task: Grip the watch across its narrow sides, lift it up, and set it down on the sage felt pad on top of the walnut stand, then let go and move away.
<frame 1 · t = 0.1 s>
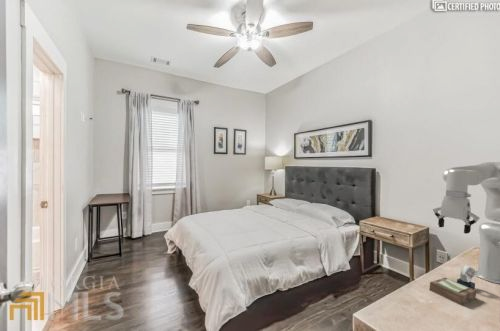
hand: (453, 230, 106), 31 cm above the table, tool pointing down, fingers open, 9 cm apart
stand: (451, 294, 106), on the table
watch: (465, 287, 114), on the table
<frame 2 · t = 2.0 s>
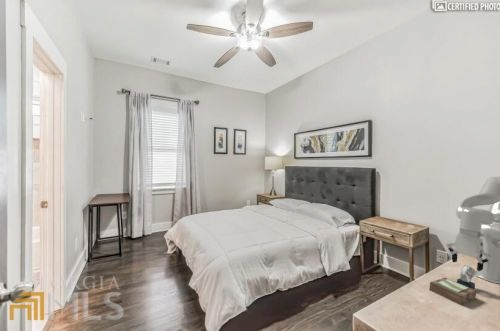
hand: (466, 266, 113), 11 cm above the table, tool pointing down, fingers open, 9 cm apart
nothing on the table moved.
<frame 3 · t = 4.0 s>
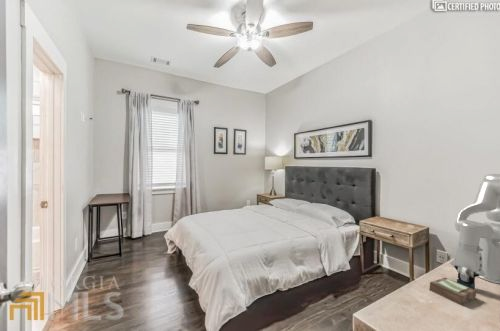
hand: (465, 281, 114), 3 cm above the table, tool pointing down, fingers closed on watch, 3 cm apart
watch: (465, 287, 114), on the table, touching gripper
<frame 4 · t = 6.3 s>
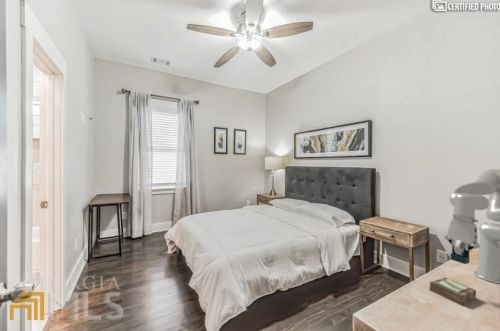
hand: (460, 255, 109), 18 cm above the table, tool pointing down, fingers closed on watch, 3 cm apart
watch: (459, 261, 109), point 15 cm above the table, touching gripper
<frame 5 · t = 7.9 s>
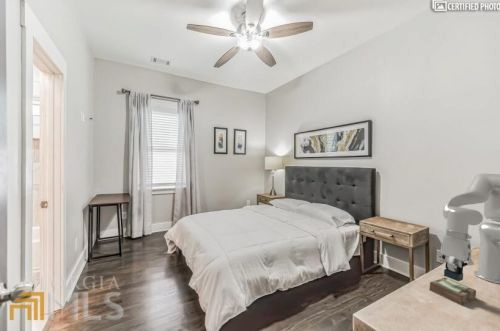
hand: (453, 272, 106), 11 cm above the table, tool pointing down, fingers closed on watch, 3 cm apart
watch: (453, 278, 106), point 8 cm above the table, touching gripper
when the fingers open (9 cm above the table, at t = 9.0 s): watch drops 1 cm, resting on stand.
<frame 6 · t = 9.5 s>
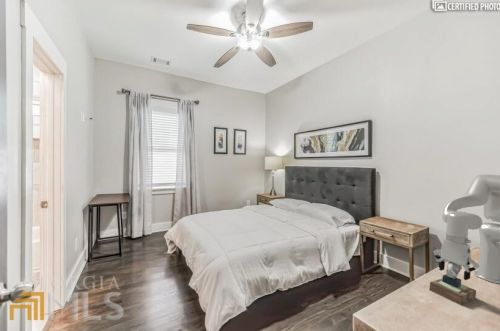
hand: (453, 274, 106), 10 cm above the table, tool pointing down, fingers open, 9 cm apart
watch: (451, 284, 107), point 4 cm above the table, touching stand
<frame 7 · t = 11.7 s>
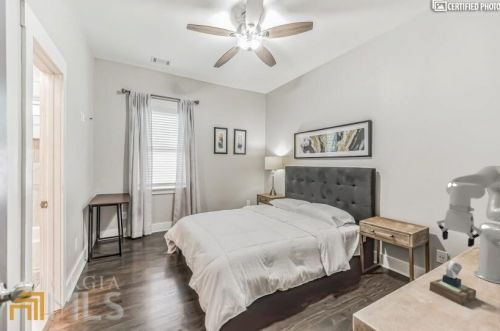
hand: (457, 242, 109), 24 cm above the table, tool pointing down, fingers open, 9 cm apart
nothing on the table moved.
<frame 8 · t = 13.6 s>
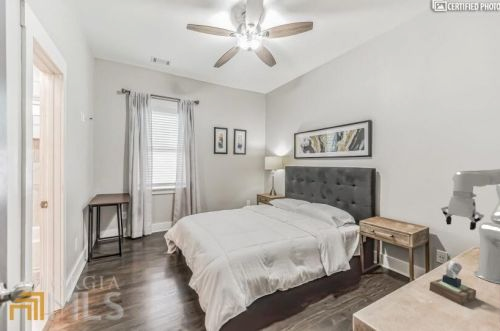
hand: (460, 226, 117), 30 cm above the table, tool pointing down, fingers open, 9 cm apart
nothing on the table moved.
at the end: watch inside the target area (1.3 cm from its centre), point 4.3 cm above the table; watch tilted 0°; the gripper is holding nothing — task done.
